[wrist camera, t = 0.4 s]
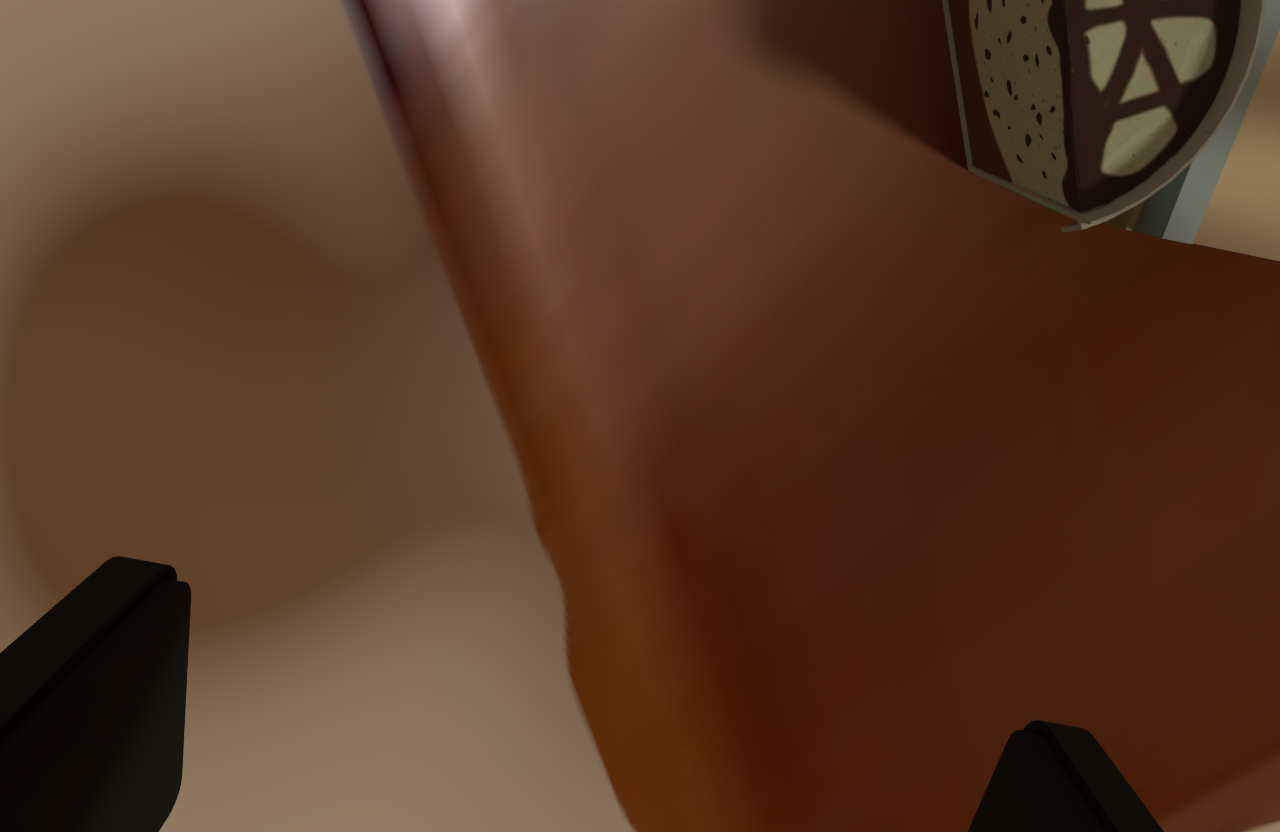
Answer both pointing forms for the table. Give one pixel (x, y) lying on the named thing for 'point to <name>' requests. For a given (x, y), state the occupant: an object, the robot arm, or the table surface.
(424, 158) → the table surface
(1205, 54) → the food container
